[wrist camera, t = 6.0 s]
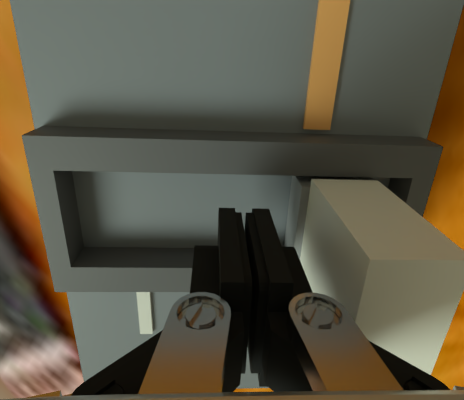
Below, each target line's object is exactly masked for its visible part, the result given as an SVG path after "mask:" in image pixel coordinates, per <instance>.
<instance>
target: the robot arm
mask: <svg viewBox="0 0 464 400" xmlns="http://www.w3.org/2000/svg"><path fill="white" fill-rule="evenodd" d="M247 347H248V354H249V363H250V371H251V373H258V380H259V387H269V388H270V389H272V390H273V391H274V392H233V391H234V390H235V389H236V388H237V387H238V386H239V385H240V380H241V374H245V371H246V359H247ZM1 400H464V387H458V386H454V388H453V390H450V389H449V388H448V387H447V386H446V385H445V384H443V383H442V382H440V381H439V380H437V379H436V378H435V377H433V376H431V375H429V374H428V373H426V372H424V371H422V370H420V369H419V368H417V367H415V366H413V365H412V364H410V363H408V362H406V361H404V360H403V359H401V358H399V357H397V356H396V355H394V354H392V353H390V352H388V351H387V350H385V349H383V348H381V347H380V346H378V345H376V344H374V343H372V342H371V341H369V340H368V339H367V338H366V337H365V335H364V334H363V332H362V331H361V330H360V328H359V327H358V325H357V324H356V323H355V321H354V320H353V318H352V317H351V316H350V314H349V313H348V311H347V310H346V309H345V308H344V306H343V305H342V304H341V303H340V302H338V301H337V300H335V299H333V298H332V297H329V296H327V295H324V294H319V293H313V292H312V289H311V287H310V284H309V282H308V279H307V277H306V274H305V272H304V269H303V267H302V264H301V262H300V259H299V257H298V254H297V252H296V249H295V248H294V247H285V246H281V243H280V240H279V237H278V234H277V231H276V228H275V225H274V222H273V219H272V216H271V213H270V210H269V209H260V208H252V213H247V212H246V216H245V230H244V226H243V220H242V213H241V212H235V208H219V212H218V244H217V246H209V245H195V246H194V256H193V266H192V276H191V286H190V294H187V295H185V296H183V297H181V298H179V299H178V300H177V301H176V302H175V303H174V304H173V306H172V308H171V310H170V312H169V315H168V317H167V320H166V323H165V325H164V328H163V330H162V331H160V332H159V333H157V334H156V335H154V336H153V337H151V338H150V339H148V340H147V341H145V342H144V343H142V344H141V345H139V346H138V347H136V348H135V349H133V350H132V351H130V352H129V353H127V354H126V355H124V356H122V357H121V358H119V359H118V360H116V361H115V362H113V363H112V364H110V365H109V366H107V367H106V368H104V369H103V370H101V371H100V372H98V373H97V374H95V375H94V376H92V377H91V378H89V379H88V380H86V381H85V382H84V383H82V384H81V385H80V386H79V387H78V388H76V389H75V391H74V392H73V393H72V394H69V395H64V396H62V395H61V390H60V391H56V392H51V393H46V394H42V395H37V396H32V397H27V398H17V399H1Z"/></svg>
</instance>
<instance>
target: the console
mask: <svg viewBox="0 0 464 400" xmlns="http://www.w3.org/2000/svg"><path fill="white" fill-rule="evenodd" d="M10 4H11V9H12V14H13V19H14V24H15V29H16V35H17V40H18V45H19V50H20V55H21V60H22V65H23V71H24V76H25V81H26V86H27V91H28V96H29V101H30V106H31V112H32V117H33V122H34V127H35V130H33V131H30V132H28V133H26V134H24V135H22V139H23V144H24V148H25V153H26V158H27V162H28V167H29V172H30V177H31V181H32V186H33V191H34V195H35V200H36V205H37V210H38V214H39V219H40V224H41V228H42V233H43V238H44V243H45V247H46V252H47V257H48V261H49V266H50V271H51V276H52V280H53V285H54V290H55V292H67V296H68V302H69V307H70V312H71V317H72V322H73V327H74V332H75V338H76V343H77V348H78V353H79V358H80V363H81V368H82V373H83V379H84V382H85V381H86V380H88V379H89V378H91V377H92V376H94V375H95V374H97V373H98V372H100V371H101V370H103V369H104V368H106V367H107V366H109V365H110V364H112V363H113V362H115V361H116V360H118V359H119V358H121V357H122V356H124V355H126V354H127V353H129V352H130V351H132V350H133V349H135V348H136V347H138V346H139V345H141V344H142V343H144V342H145V341H147V340H148V339H150V338H151V337H153V336H154V335H156V334H157V333H159V332H160V331H162V330H163V328H164V325H165V323H166V320H167V317H168V315H169V312H170V310H171V308H172V306H173V304H174V303H175V302H176V301H177V300H178V299H179V298H181V297H183V296H185V295H187V294H190V286H191V276H192V266H193V256H194V246H195V245H209V246H217V244H218V212H219V208H235V212H241V213H242V220H243V226H244V230H245V216H246V212H247V213H252V208H260V209H269V210H270V213H271V216H272V219H273V222H274V225H275V228H276V231H277V234H278V237H279V240H280V243H281V246H284V241H285V232H286V224H287V215H288V207H289V198H290V190H291V181H292V176H330V177H371V178H372V179H374V180H378V181H379V182H380V183H382V184H383V185H384V186H385V187H387V188H388V189H389V190H390V191H391V192H393V193H394V194H395V195H396V196H398V197H399V198H400V199H401V200H402V201H404V202H405V203H406V204H407V205H408V206H410V207H411V208H412V209H413V210H415V211H416V212H417V213H418V214H419V215H421V216H422V217H423V213H424V210H425V207H426V203H427V200H428V197H429V193H430V190H431V187H432V183H433V180H434V176H435V173H436V170H437V166H438V163H439V160H440V156H441V153H442V149H443V147H442V146H440V145H438V144H436V143H433V142H431V141H429V140H427V137H428V133H429V129H430V126H431V122H432V118H433V115H434V111H435V108H436V104H437V100H438V97H439V93H440V89H441V86H442V82H443V78H444V75H445V71H446V67H447V64H448V60H449V56H450V53H451V49H452V46H453V42H454V38H455V35H456V31H457V27H458V24H459V20H460V16H461V13H462V9H463V5H464V0H10ZM237 388H269V387H259V380H258V373H251V371H250V363H249V354H248V347H247V359H246V371H245V374H241V380H240V385H239V386H238V387H237Z"/></svg>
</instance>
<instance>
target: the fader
mask: <svg viewBox="0 0 464 400" xmlns="http://www.w3.org/2000/svg"><path fill="white" fill-rule="evenodd" d="M284 246H285V247H294V248H295V249H296V252H297V254H298V257H299V259H300V262H301V264H302V267H303V269H304V272H305V274H306V277H307V279H308V282H309V284H310V287H311V289H312V292H313V293H319V294H324V295H327V296H329V297H332V298H333V299H335V300H337V301H338V302H340V303H341V304H342V305H343V306H344V308H345V309H346V310H347V311H348V313H349V314H350V316H351V317H352V318H353V320H354V321H355V323H356V324H357V325H358V327H359V328H360V330H361V331H362V332H363V334H364V335H365V337H366V338H367V339H368V340H369V341H371V342H372V343H374V344H376V345H378V346H380V347H381V348H383V349H385V350H387V351H388V352H390V353H392V354H394V355H396V356H397V357H399V358H401V359H403V360H404V361H406V362H408V363H410V364H412V365H413V366H415V367H417V368H419V369H420V370H422V371H424V372H426V373H428V374H429V375H431V373H432V370H433V367H434V365H435V362H436V360H437V357H438V355H439V352H440V349H441V347H442V344H443V342H444V339H445V337H446V334H447V331H448V329H449V326H450V324H451V321H452V319H453V316H454V314H455V311H456V308H457V306H458V303H459V301H460V298H461V296H462V293H463V290H464V251H463V250H462V249H461V248H460V247H458V246H457V245H456V244H455V243H454V242H452V241H451V240H450V239H449V238H447V237H446V236H445V235H444V234H443V233H441V232H440V231H439V230H438V229H436V228H435V227H434V226H433V225H432V224H430V223H429V222H428V221H427V220H426V219H424V218H423V217H422V216H421V215H419V214H418V213H417V212H416V211H415V210H413V209H412V208H411V207H410V206H408V205H407V204H406V203H405V202H404V201H402V200H401V199H400V198H399V197H398V196H396V195H395V194H394V193H393V192H391V191H390V190H389V189H388V188H387V187H385V186H384V185H383V184H382V183H380V182H379V181H378V180H374V179H372V178H371V177H330V176H292V181H291V190H290V198H289V207H288V215H287V224H286V232H285V241H284Z"/></svg>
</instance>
